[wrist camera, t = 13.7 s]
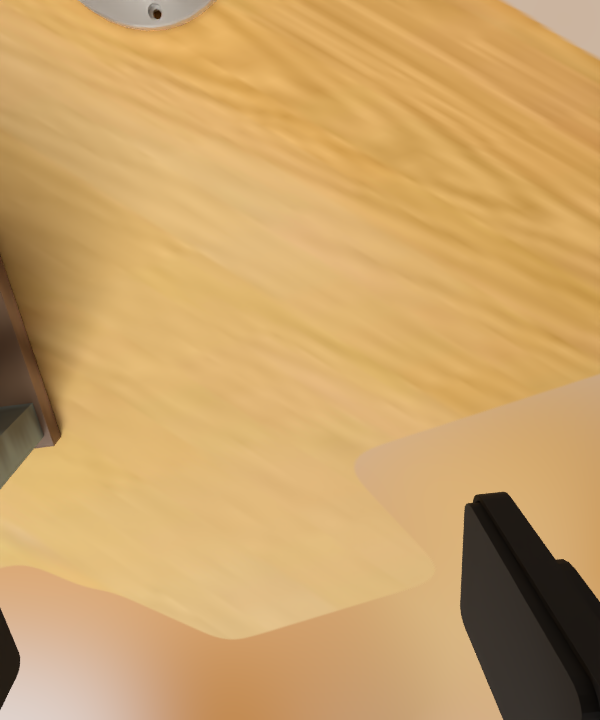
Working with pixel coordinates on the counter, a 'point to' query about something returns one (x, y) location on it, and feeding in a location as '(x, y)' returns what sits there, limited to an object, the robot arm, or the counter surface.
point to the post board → (20, 390)
